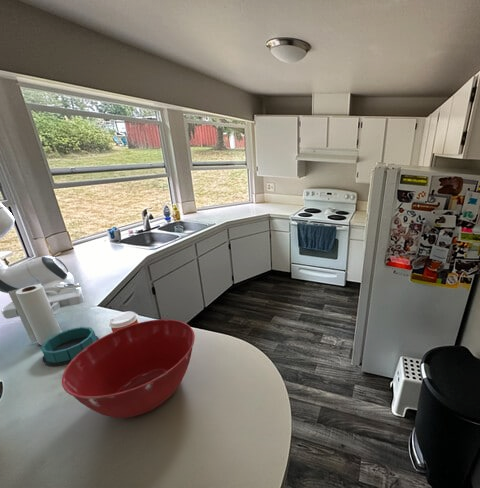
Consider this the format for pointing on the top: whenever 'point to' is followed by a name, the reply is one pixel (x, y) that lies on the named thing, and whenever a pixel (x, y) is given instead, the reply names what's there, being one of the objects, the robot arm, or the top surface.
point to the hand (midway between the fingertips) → (39, 313)
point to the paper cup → (123, 320)
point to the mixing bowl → (131, 368)
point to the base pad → (67, 345)
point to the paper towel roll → (35, 313)
